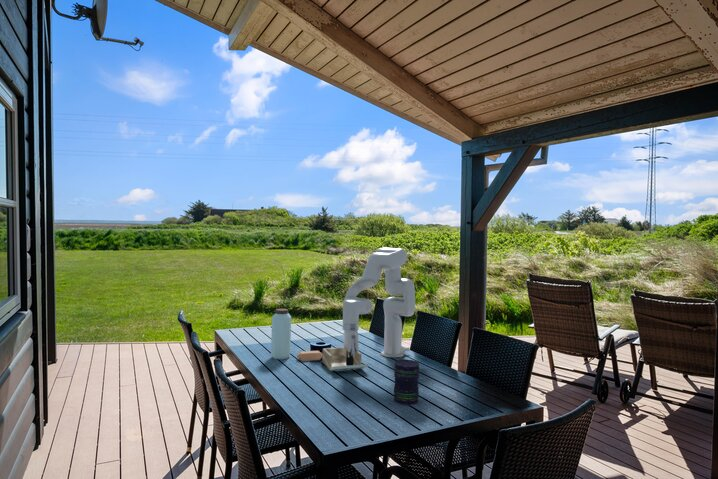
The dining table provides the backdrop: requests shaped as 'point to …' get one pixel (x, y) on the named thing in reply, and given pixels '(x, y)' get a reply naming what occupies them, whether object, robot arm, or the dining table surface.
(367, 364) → the tailgate
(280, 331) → the water bottle
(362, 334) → the dining table surface
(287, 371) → the dining table surface
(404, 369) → the storage jar
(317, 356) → the dome-capped square column
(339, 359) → the crate
